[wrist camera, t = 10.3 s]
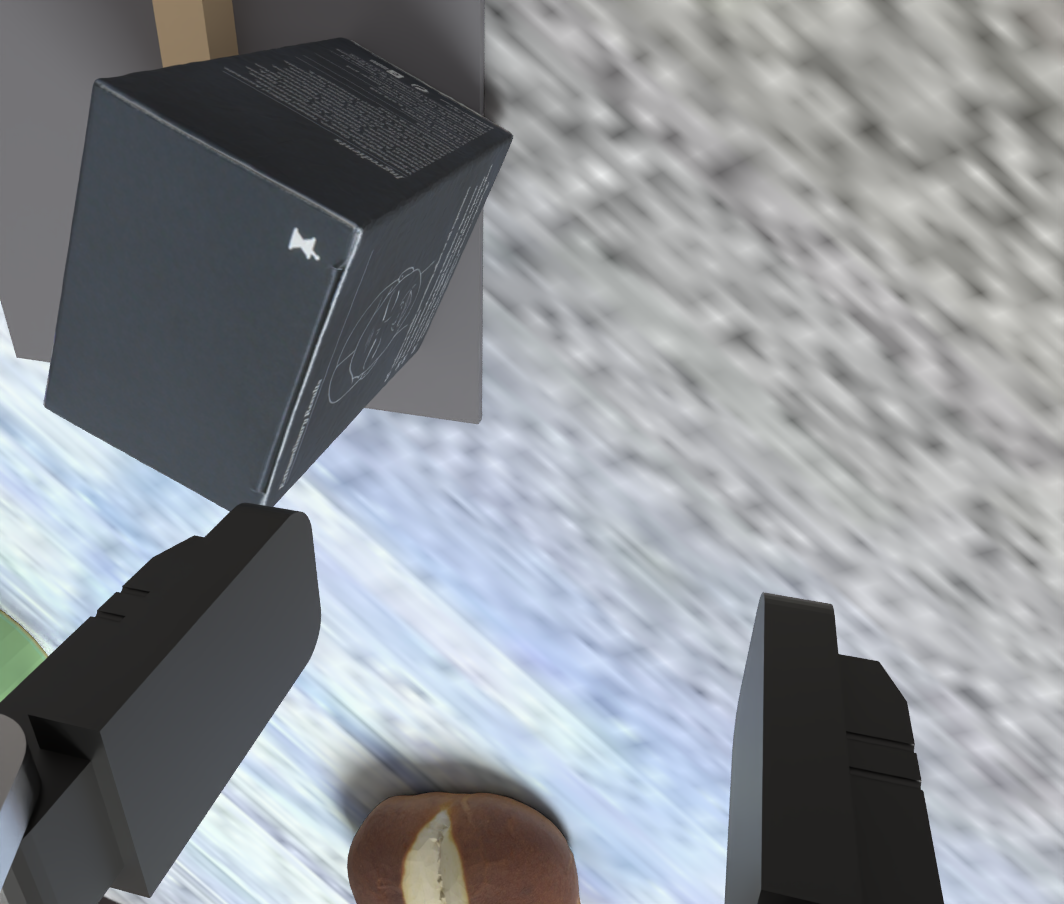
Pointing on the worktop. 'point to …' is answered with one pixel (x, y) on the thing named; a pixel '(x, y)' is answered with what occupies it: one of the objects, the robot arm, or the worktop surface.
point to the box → (258, 256)
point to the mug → (16, 654)
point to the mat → (198, 35)
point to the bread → (460, 853)
